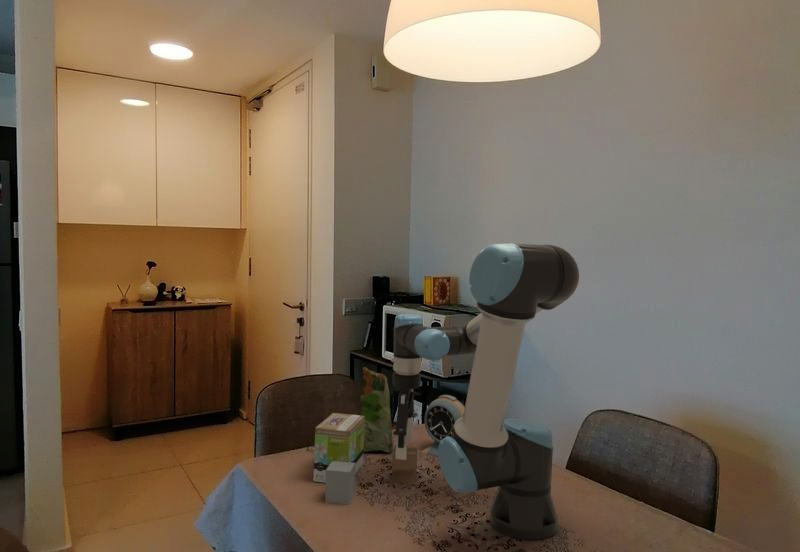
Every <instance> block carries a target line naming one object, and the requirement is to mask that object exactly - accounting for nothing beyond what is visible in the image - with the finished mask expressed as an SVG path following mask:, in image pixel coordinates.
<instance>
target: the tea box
mask: <svg viewBox="0 0 800 552" xmlns="http://www.w3.org/2000/svg"><path fill="white" fill-rule="evenodd" d="M364 425H365V416H361V415H358V414H348V413H346V414H345V413H337V412H332V413H331V414H330V415H329V416H327V417H326V418H325V419H324V420H323V421H322V422H320V423H319V424H318V425H317V426H315V431H314V454H313V457H314V458H313V461H314V462H313V482H317V483H324V484H326V469H327V468H328V466H329V465H330V463H331V462H332V461H337V462H350V463H355V475H356V474H357V473H358V472H359V471H360V470H361V468H362V467H363V465H364V453H365V452H364Z"/></svg>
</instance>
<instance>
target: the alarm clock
mask: <svg viewBox="0 0 800 552" xmlns="http://www.w3.org/2000/svg"><path fill="white" fill-rule="evenodd" d="M464 409H465V405H464V404H463V403H462V402H460V400H458V399H457V398H456V397H455V396H452V395H449V394H442V395H440V396H438V398H436V399H435V400H433V401H431V403H430V404H429V405H428V406H427V408H426V411H425V412H424V417H423V419H424V420H423V421H424V427H425V430H426V432H427V434H428V435H429V437H430V438H431V439H432V440H433V441H434V443H432V444H431V445H430V446H427V447H426V448H424V449H423V450H421V451H420V453H422V454H425V455H429V456H431V457H435V458H438V447H439V443H440V441H441V440H442V439H444V438H445V437H447V436H449V437H451V436H452V434H453V429H454V424H455V422H456V421H457V420H458V419H459V418H461V417H463V415H464Z"/></svg>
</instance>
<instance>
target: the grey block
mask: <svg viewBox="0 0 800 552" xmlns="http://www.w3.org/2000/svg"><path fill="white" fill-rule="evenodd" d="M355 490H356V474H355V463H350V462H337V461H332V462H331V463H330V465H329V466H328V468H327V469H326V483H325V490H324V491H325V494H324V495H325V497H324V498H325V499H324V500H325V501H324V502H325V503H326V502H329V503H328V504H337V503H338V504H340V505H350V504H351V503H352V500H353V498H354V496H355V494H356V493H355V492H356V491H355Z"/></svg>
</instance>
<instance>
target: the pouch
mask: <svg viewBox="0 0 800 552" xmlns="http://www.w3.org/2000/svg"><path fill="white" fill-rule="evenodd" d="M362 370H363V371H362V373H363V377H362V378H363V380H362V381H363V385H361V390H363V394H361V395H360V403H361V411H360V413H361V416H365V425H364V452H363V453H368V452H384V453H392V452H393V450H394V441H393V427H392V426H393V425H392V419H391V417H392V416H391V414H392V413H391V407H390V401H391V400H390V399H391V394H390V389H389V385H388V378H387V376H386V375H385V374H384V373H377V372H376V371H372V370H371V369H370V370H369V369H368V367H366V366H364V367H363V368H362Z"/></svg>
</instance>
